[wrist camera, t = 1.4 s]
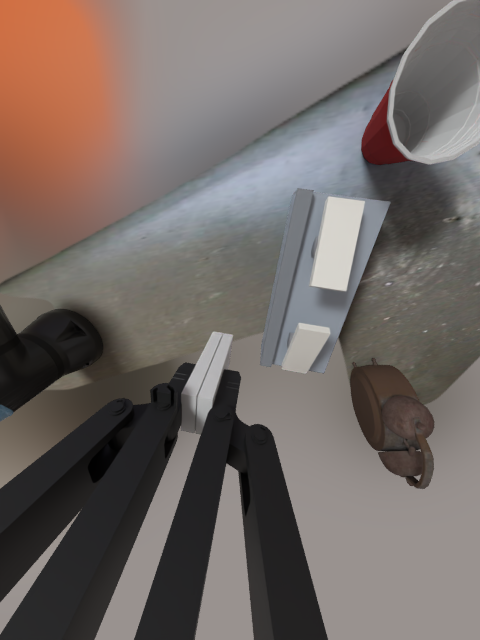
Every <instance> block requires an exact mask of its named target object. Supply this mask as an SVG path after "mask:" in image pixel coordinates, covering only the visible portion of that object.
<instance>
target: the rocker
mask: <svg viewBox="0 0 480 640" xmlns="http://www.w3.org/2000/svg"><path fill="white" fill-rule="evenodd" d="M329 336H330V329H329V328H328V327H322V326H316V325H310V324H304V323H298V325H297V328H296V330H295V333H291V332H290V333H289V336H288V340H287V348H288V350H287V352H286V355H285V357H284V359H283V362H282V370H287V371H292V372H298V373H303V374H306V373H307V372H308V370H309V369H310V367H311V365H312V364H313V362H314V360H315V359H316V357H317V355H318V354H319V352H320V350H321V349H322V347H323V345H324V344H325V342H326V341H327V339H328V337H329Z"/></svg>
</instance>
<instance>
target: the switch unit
mask: <svg viewBox="0 0 480 640" xmlns="http://www.w3.org/2000/svg"><path fill="white" fill-rule="evenodd" d="M313 191H314V190H307V189H299V188H298V189H297V190H296V191H295V193H294V194H293V195H292V197H291V202H290V207H289V212H288V217H287V222H286V227H285V232H284V236H283V241H282V246H281V251H280V256H279V261H278V266H277V271H276V276H275V280H274V285H273V290H272V295H271V300H270V305H269V310H268V315H267V320H266V325H265V329H264V335H263V339H262V344H261V361H260V365H262V366H267V367H271V365H272V364H275V365H280V366H282V362H283V359H284V357H285V355H286V352H287V350H288V348H287V340H288V336H289V333H290V332H291V333H295V330H296V328H297V325H298V323H304V324H310V325H316V326H322V327H328V328H329V329H330V336H329V337H328V339H327V341H326V342H325V344H324V345H323V347H322V349H321V350H320V352H319V354H318V355H317V357H316V359H315V360H314V362H313V364H312V365H311V367H310V369H309V370H308V371H314V372H319V373H324V372H325V370H326V367H327V364H328V362H329V359H330V357H331V354H332V351H333V349H334V346H335V344H336V341H337V339H338V336H339V334H340V331H341V328H342V326H343V323H344V321H345V318H346V316H347V313H348V310H349V308H350V305H351V303H352V300H353V298H354V295H355V292H356V290H357V287H358V285H359V282H360V280H361V277H362V274H363V272H364V269H365V267H366V264H367V262H368V259H369V256H370V254H371V251H372V249H373V246H374V244H375V241H376V238H377V236H378V233H379V231H380V228H381V226H382V223H383V220H384V218H385V215H386V213H387V210H388V208H389V205H390V202H387V201H380V200H372V199H365V198H357V197H349V196H342V195H334V194H326V193H319V192H313ZM329 196H330V197H337V198H345V199H353V200H360V201H365V204H364V209H363V214H362V219H361V223H360V228H359V233H358V238H357V242H356V247H355V252H354V257H353V261H352V266H351V271H350V276H349V280H348V285H347V290H346V291H344V292H341V291H334V290H328V289H321V288H315V287H309V283H310V278H311V273H312V267H313V262H314V258H312V257H311V250H312V246H313V242H314V240H315V238H316V236H319V231H320V226H321V221H322V216H323V210H324V205H325V201H326V199H327V198H328V197H329Z"/></svg>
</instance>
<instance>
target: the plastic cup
mask: <svg viewBox="0 0 480 640" xmlns="http://www.w3.org/2000/svg"><path fill="white" fill-rule="evenodd" d="M479 143H480V0H453V1H451V2H450V3H449V4H448V5H446V6H445V7H444V8H442V9H441V10H440V11H439V12H438V13H436V14H435V15H434V16H432V17H431V18H430V19H429V20H428V21H427V22H426V23H425V25H424V26H423V28H422V29H421V31H420V32H419V33H418V35H417V36H416V37H415V39H414V40H413V42H412V43H411V44H410V46H409V47H408V49H407V50H406V52H405V53H404V55H403V57H402V59H401V62H400V64H399V67H398V69H397V72H396V75H395V77H394V79H393V81H392V82H391V84H390V87H389V89H388V90H387V92H386V94H385V95H384V97H383V99H382V100H381V102H380V104H379V105H378V107H377V109H376V110H375V112H374V114H373V115H372V118H371V120H370V122H369V123H368V125H367V127H366V129H365V132H364V135H363V137H362V147H361V150H362V153H363V156H364V158H365V159H366V160H367V161H368V162H369V163H372V164H376V165H382V164H393V163H399V162H405V161H416V162H420V163H424V164H429V165H430V164H435V163H439V162H444V161H449V160H453V159H455V158H457V157H458V156H460V155H462V154H463V153H465V152H467V151H468V150H470V149H471V148H473V147H475V146H476V145H478V144H479Z"/></svg>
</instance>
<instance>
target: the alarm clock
mask: <svg viewBox="0 0 480 640" xmlns="http://www.w3.org/2000/svg"><path fill="white" fill-rule="evenodd" d="M372 361H373V364H374V365H366V366H361V367H357V366H356V363H355V362H353V363H352V364H353V365H354V369H353V370H352V372H351V379H350V386H351V396H352V402H353V407H354V410H355V414H356V417H357V419H358V422H359V425H360V427H361V430H362V432H363V434H364V436H365V437H366V439H367V441H368V443H369V444H370V445H371V446H372V448H374V449H375V450H377V451H387V452H379V453H378V454H379V457H380V459H381V461H382V462H383V464H384V466H385V467H386V468H387V469H388V470H389V471H390V472H392V473H394V474H396V475H399V476H401V477H406V480H407V483H408V484H409V485H410V486H414V487H416V488H420V489H425V488H426V487H427V486H428V485H429V483H430V481H431V478H432V475H433V469H434V463H433V455H432V452H431V450H430V447H429V445H428V443H427V440H426V438H427V437H429V435H431V433H432V432H433V429H434V420H433V417H432V414H431V413H430V411H429V410H428V409H427V408H426V407H425V406H424V405H423V404H422V403H421V402H419V399H418V397H417V395H416V393H415V391H414V389H413V387H412V386H411V384H410V383H409V381H408V380H407V379H406V377H405V376H404V375H403V374H402V373H401V372H400V371H399V370H398V369H397V368H395V367H393V366H390V365H378V364H377V363H376V361H375V358H373V359H372ZM419 449H421V452H420V451H416V450H419ZM420 474H421V478H420V480H419V481H418V480H417V479H416V478H414V477H413V476H418V475H420Z"/></svg>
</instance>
